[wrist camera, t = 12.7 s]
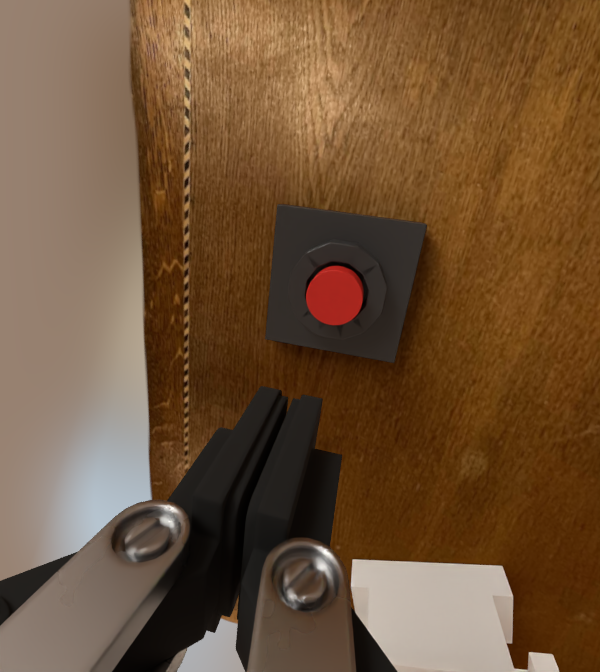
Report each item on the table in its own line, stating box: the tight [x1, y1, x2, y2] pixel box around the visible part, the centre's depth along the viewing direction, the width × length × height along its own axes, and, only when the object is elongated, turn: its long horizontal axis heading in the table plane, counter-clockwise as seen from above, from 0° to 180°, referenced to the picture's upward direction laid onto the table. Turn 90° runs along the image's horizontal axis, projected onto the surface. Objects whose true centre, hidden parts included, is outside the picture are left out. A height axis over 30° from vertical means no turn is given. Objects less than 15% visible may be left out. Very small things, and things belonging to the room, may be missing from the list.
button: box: [306, 266, 363, 325], centre depth 24 cm, size 4×4×2 cm
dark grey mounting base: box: [265, 204, 427, 363], centre depth 26 cm, size 10×10×4 cm
